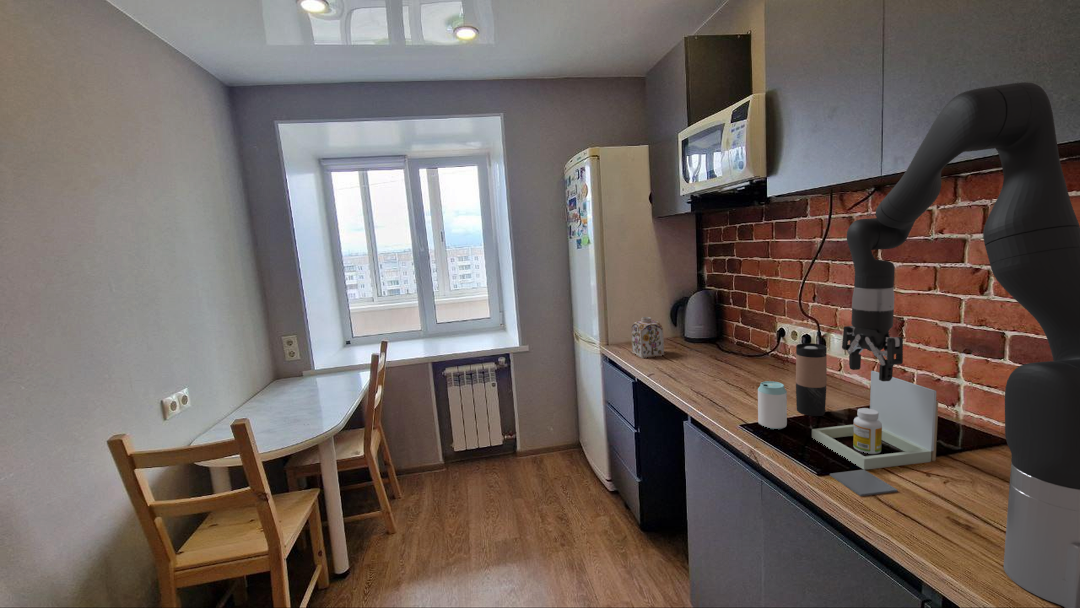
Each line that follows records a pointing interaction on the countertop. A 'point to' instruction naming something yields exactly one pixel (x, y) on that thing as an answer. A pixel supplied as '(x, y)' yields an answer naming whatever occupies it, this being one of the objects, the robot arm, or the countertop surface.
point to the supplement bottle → (867, 431)
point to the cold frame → (893, 425)
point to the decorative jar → (647, 338)
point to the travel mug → (811, 378)
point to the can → (772, 405)
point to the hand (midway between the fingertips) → (869, 374)
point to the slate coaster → (863, 482)
